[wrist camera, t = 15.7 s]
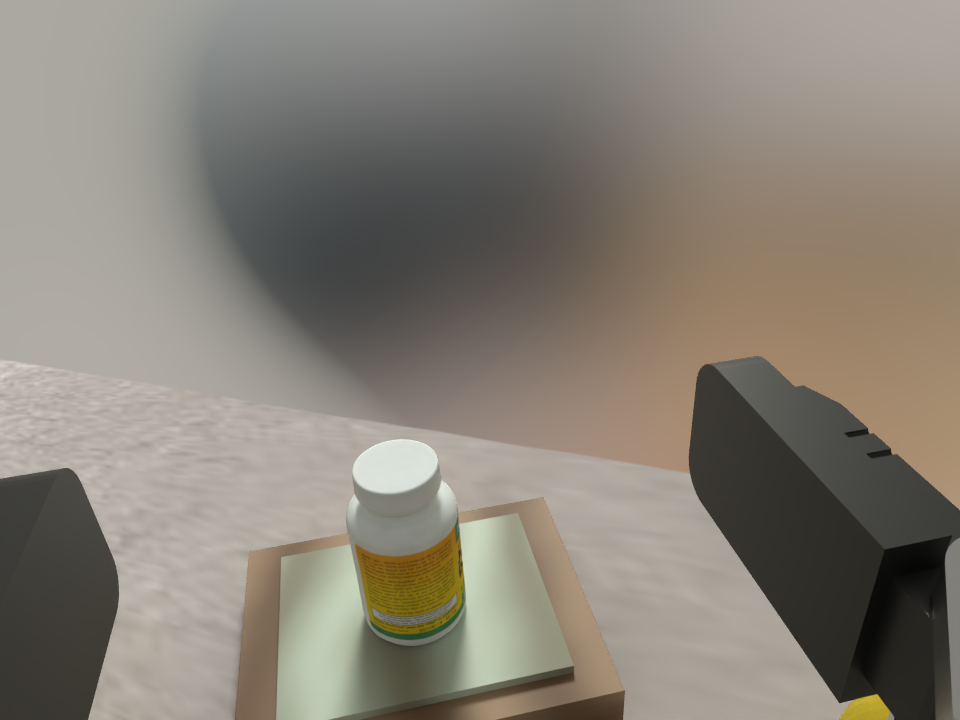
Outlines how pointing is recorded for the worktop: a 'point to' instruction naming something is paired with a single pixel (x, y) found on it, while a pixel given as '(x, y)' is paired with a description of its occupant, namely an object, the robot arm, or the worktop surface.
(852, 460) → the robot arm
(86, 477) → the worktop surface
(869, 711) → the lemon
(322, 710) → the brown flat wooden block
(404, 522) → the supplement bottle
